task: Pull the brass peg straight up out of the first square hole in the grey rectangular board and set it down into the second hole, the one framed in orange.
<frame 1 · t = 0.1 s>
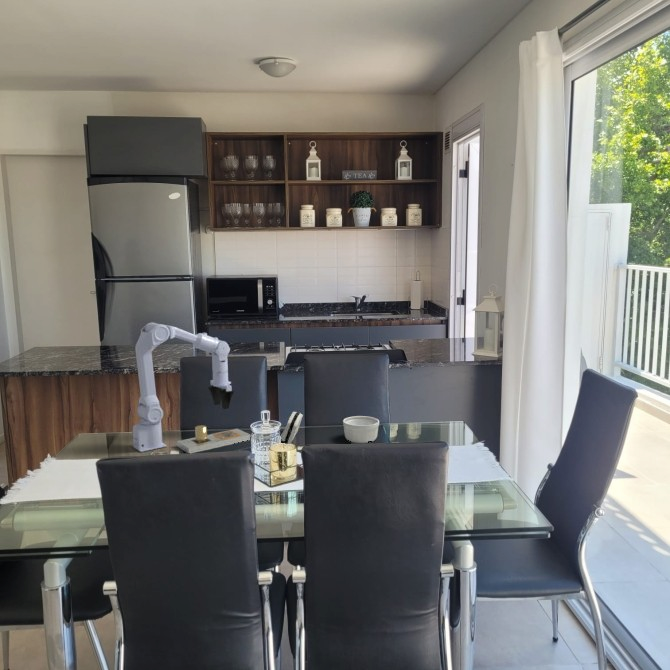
hand: (221, 406, 222), 10 cm above the table, tool pointing down, fingers open, 7 cm apart
grey rectangular board: (214, 443, 210), on the table
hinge: (291, 437, 217), on the table
peg: (201, 446, 207), resting in grey rectangular board
ramekin: (361, 439, 213), on the table
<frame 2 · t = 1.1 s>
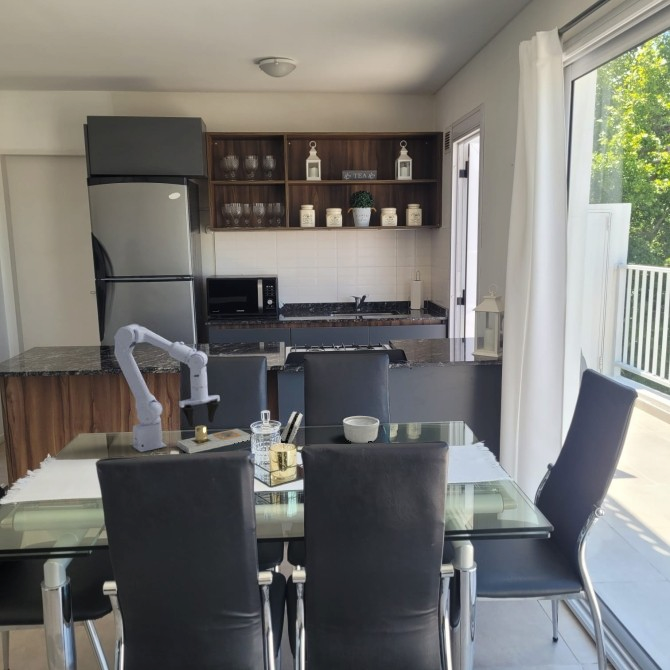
hand: (200, 423, 206), 8 cm above the table, tool pointing down, fingers open, 7 cm apart
nothing on the table moved.
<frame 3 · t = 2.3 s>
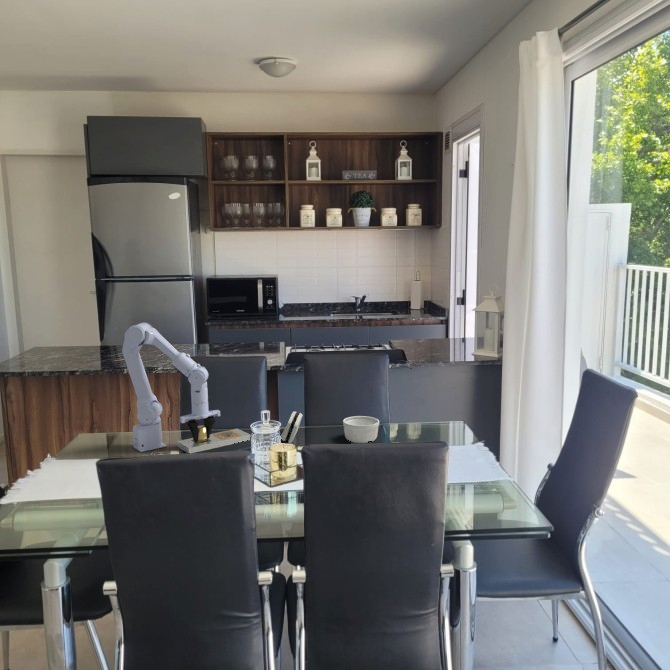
hand: (201, 438, 207), 3 cm above the table, tool pointing down, fingers closed on peg, 4 cm apart
peg: (201, 446, 207), resting in grey rectangular board, touching gripper
everything else where it was.
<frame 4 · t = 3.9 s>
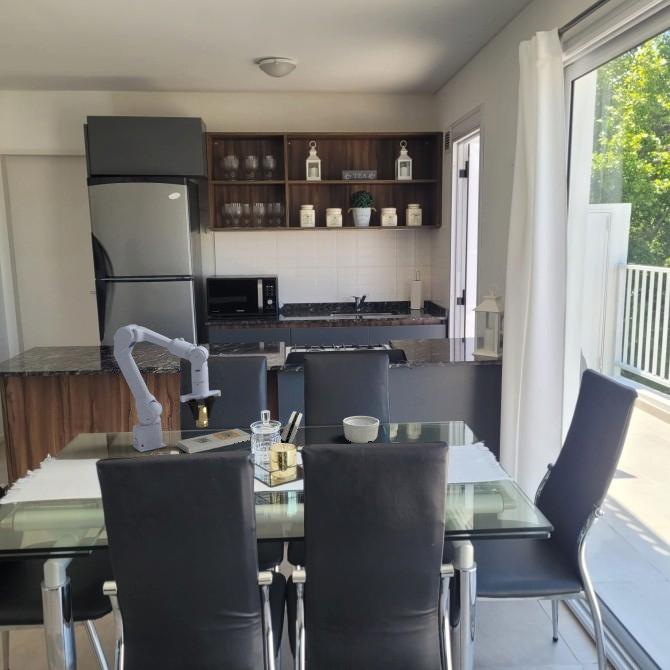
hand: (201, 418, 206), 10 cm above the table, tool pointing down, fingers closed on peg, 4 cm apart
peg: (202, 425, 206), point 7 cm above the table, touching gripper
everything else where it was.
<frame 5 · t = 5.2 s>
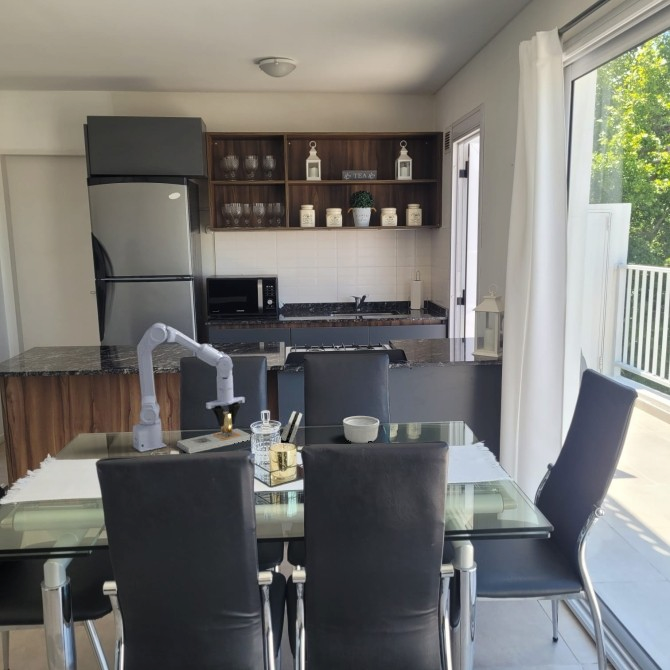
hand: (226, 424, 212), 6 cm above the table, tool pointing down, fingers closed on peg, 4 cm apart
peg: (226, 431, 213), point 3 cm above the table, touching gripper
everything else where it was.
when the fingers open (4 cm above the table, at t = 6.0 s): peg drops 2 cm, resting in grey rectangular board.
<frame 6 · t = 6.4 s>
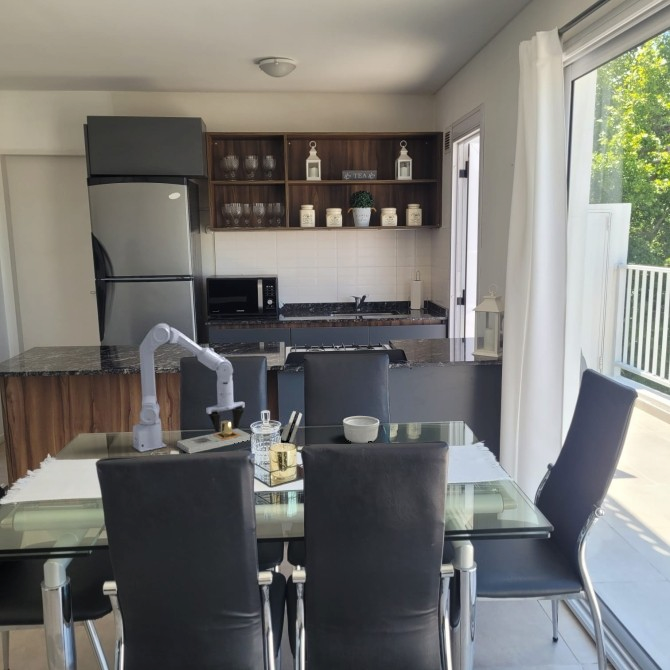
hand: (226, 429, 213), 4 cm above the table, tool pointing down, fingers open, 7 cm apart
peg: (227, 440, 213), resting in grey rectangular board
everything else where it was.
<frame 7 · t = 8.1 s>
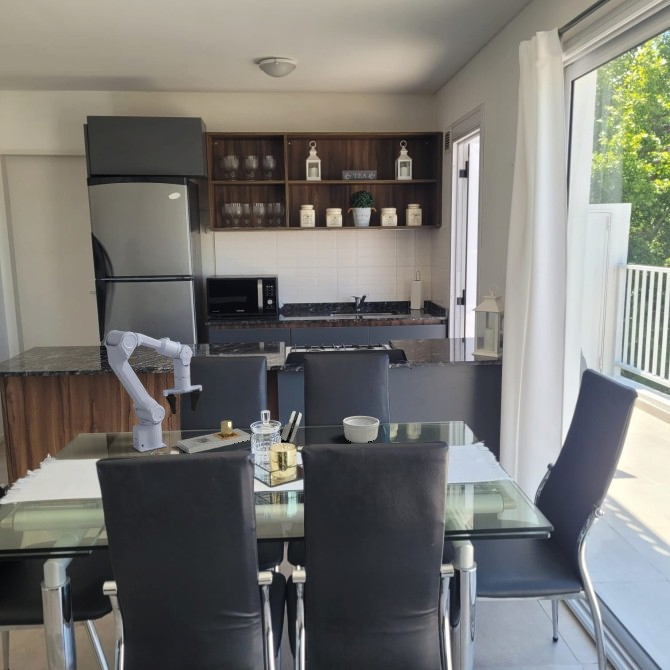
hand: (183, 412, 218), 9 cm above the table, tool pointing down, fingers open, 7 cm apart
nothing on the table moved.
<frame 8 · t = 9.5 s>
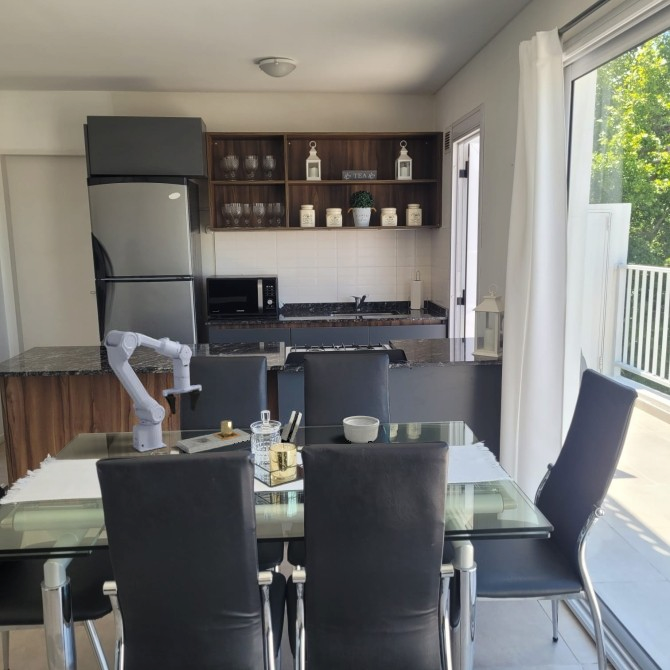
hand: (183, 411, 218), 9 cm above the table, tool pointing down, fingers open, 7 cm apart
at the end: peg 0.0 cm from the target spot on the grey rectangular board, point 0.0 cm above the grey rectangular board's base; peg tilted 0°; the gripper is holding nothing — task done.
